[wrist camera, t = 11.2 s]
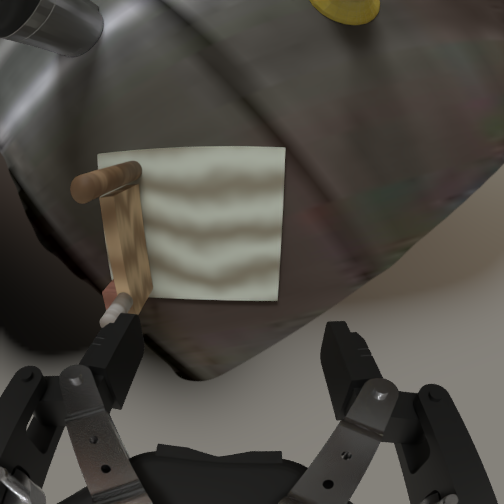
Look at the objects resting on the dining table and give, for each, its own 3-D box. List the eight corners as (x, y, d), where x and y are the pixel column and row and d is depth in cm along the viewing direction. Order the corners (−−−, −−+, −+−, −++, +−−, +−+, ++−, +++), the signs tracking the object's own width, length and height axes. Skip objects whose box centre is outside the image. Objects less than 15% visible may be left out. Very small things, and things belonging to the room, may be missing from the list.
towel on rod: (100, 153, 40) (38, 167, 25) (284, 147, 40) (304, 153, 26) (116, 292, 49) (77, 347, 34) (276, 297, 49) (287, 363, 35)
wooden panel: (125, 185, 41) (72, 210, 27) (140, 183, 41) (91, 208, 27) (141, 288, 47) (106, 343, 33) (154, 288, 47) (123, 345, 33)
